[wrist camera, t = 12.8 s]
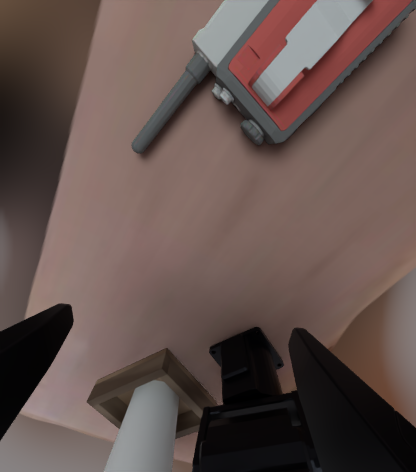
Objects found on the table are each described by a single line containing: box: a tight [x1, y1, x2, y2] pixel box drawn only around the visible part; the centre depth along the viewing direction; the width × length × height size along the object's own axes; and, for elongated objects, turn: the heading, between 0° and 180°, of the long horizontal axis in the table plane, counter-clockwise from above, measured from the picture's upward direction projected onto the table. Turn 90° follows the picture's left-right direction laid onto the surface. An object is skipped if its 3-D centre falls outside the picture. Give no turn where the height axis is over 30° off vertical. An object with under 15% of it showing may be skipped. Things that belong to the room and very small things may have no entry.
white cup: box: [104, 380, 179, 472], centre depth 23 cm, size 7×7×10 cm
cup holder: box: [87, 348, 216, 439], centre depth 27 cm, size 11×11×3 cm
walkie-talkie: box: [132, 0, 416, 153], centre depth 14 cm, size 9×4×20 cm
